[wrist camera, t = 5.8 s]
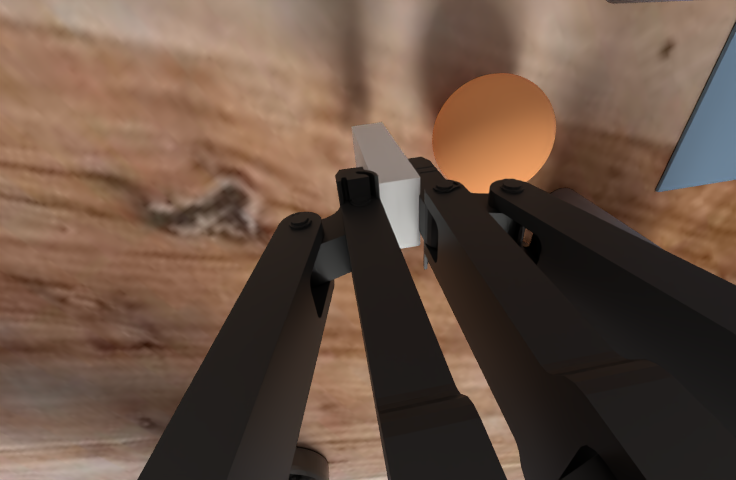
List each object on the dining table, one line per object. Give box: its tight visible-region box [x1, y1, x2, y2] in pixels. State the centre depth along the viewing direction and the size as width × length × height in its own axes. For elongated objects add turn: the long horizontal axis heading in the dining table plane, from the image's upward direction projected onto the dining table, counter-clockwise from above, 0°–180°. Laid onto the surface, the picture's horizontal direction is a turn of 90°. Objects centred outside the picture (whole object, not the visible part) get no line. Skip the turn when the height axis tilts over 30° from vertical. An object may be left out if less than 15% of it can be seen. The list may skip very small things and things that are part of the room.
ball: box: [432, 73, 556, 193], centre depth 16 cm, size 6×6×6 cm
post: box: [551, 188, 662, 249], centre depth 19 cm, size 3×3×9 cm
